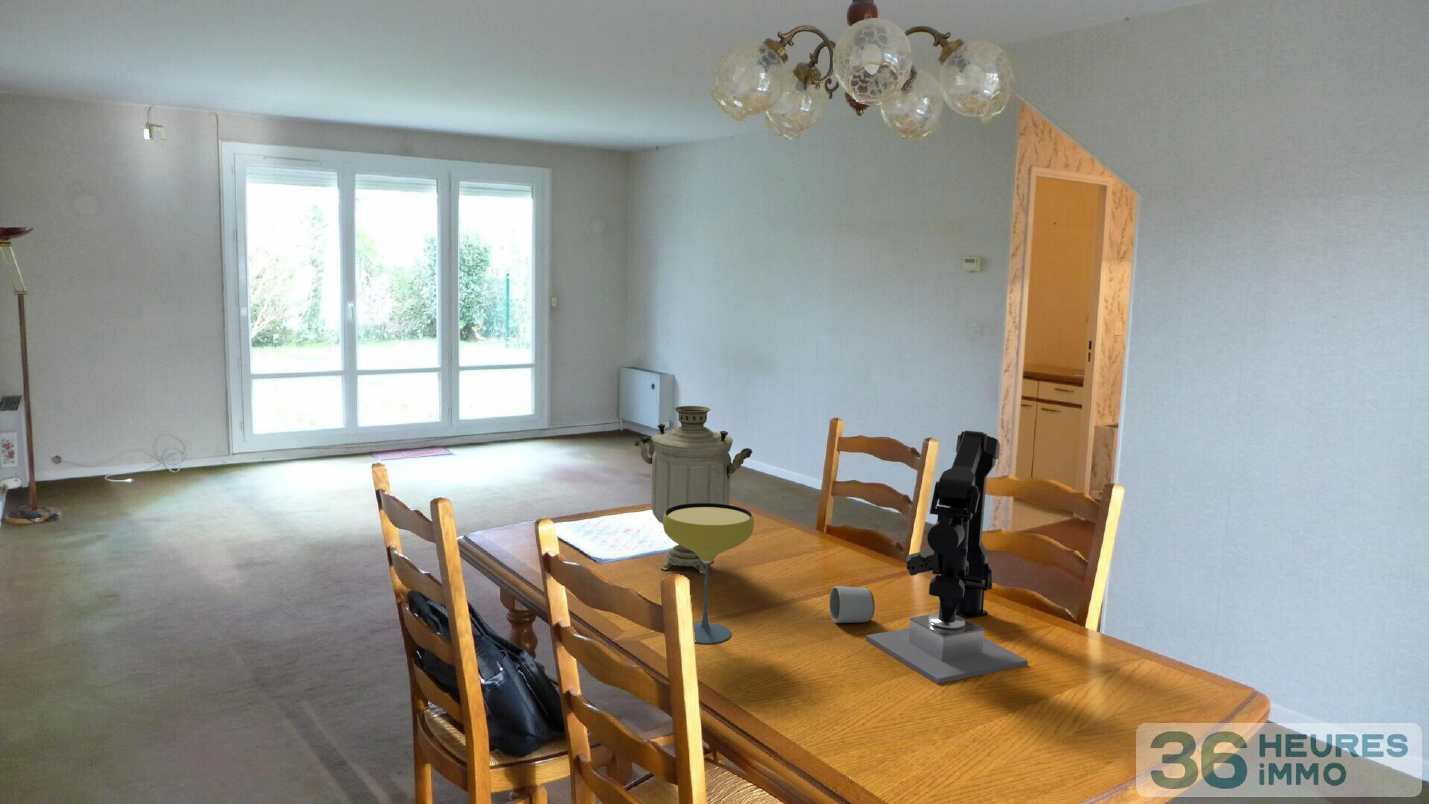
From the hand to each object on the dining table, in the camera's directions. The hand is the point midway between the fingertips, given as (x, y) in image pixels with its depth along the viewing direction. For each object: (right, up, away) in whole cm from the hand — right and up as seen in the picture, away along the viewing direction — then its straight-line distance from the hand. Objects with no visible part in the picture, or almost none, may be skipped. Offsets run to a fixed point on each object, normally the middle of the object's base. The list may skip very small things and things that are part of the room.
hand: (946, 618), depth 180 cm
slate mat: (0, -7, +1) cm, 7 cm away
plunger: (0, -5, +1) cm, 5 cm away
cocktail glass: (-48, -5, +6) cm, 48 cm away
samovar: (-51, +1, +52) cm, 73 cm away
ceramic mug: (-17, -4, +17) cm, 25 cm away
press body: (0, -7, +1) cm, 7 cm away
